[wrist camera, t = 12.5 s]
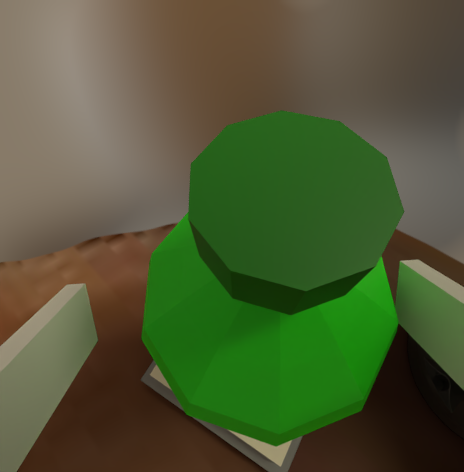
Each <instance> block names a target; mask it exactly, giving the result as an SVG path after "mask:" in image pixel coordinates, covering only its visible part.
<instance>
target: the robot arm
mask: <svg viewBox="0 0 464 472" xmlns="http://www.w3.org/2000/svg"><path fill="white" fill-rule="evenodd" d="M395 310H396V313H397V317H398V321H399V324H400V325H401V326H402V327H403V328H404V329H405V330H406V331H407V332H408V334H409V335H408V358H409V363H410V367H411V371H412V374H413V377H414V379H415V382H416V384H417V386H418V388H419V390H420V392H421V394H422V396H423V397H424V399H425V400H426V402H427V403H428V405H429V406H430V408H431V409H432V410H433V411H434V413H435V414H436V415H437V416H438V417H439V418H440V419H441V420H442V421H443V422H444V423H445V424H446V425H447V426H448V427H449V428H450V429H451V430H452V431H454V432H455V433H456V434H457V435H459V436H460V437H461V438H463V439H464V287H463V286H461V285H459V284H458V283H456V282H454V281H453V280H451V279H449V278H448V277H446V276H444V275H443V274H441V273H439V272H438V271H436V270H434V269H433V268H431V267H429V266H428V265H426V264H425V263H423V262H421V261H420V260H406V261H400V265H399V275H398V285H397V295H396V304H395ZM97 341H98V338H97V333H96V329H95V324H94V320H93V315H92V311H91V306H90V302H89V297H88V293H87V288H86V284H71V285H66V286H65V287H64V288H63V289H62V290H61V291H60V292H58V293H57V294H56V295H55V296H54V297H53V298H52V299H51V300H50V301H49V302H48V303H47V304H46V305H44V306H43V307H42V308H41V309H40V310H39V311H38V312H37V313H36V314H35V315H34V316H33V317H32V318H30V319H29V320H28V321H27V322H26V323H25V324H24V325H23V326H22V327H21V328H20V329H19V330H17V331H16V332H15V333H14V334H13V335H12V336H11V337H10V338H9V339H8V340H7V341H6V342H5V343H3V344H2V345H1V346H0V472H17V470H18V469H19V467H20V465H21V464H22V462H23V461H24V459H25V457H26V456H27V454H28V453H29V451H30V449H31V448H32V446H33V445H34V443H35V441H36V440H37V438H38V436H39V435H40V433H41V432H42V430H43V428H44V427H45V425H46V424H47V422H48V420H49V419H50V417H51V415H52V414H53V412H54V411H55V409H56V407H57V406H58V404H59V403H60V401H61V399H62V398H63V396H64V395H65V393H66V391H67V390H68V388H69V386H70V385H71V383H72V382H73V380H74V378H75V377H76V375H77V374H78V372H79V370H80V369H81V367H82V366H83V364H84V362H85V361H86V359H87V357H88V356H89V354H90V353H91V351H92V349H93V348H94V346H95V345H96V343H97Z"/></svg>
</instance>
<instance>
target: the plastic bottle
mask: <svg viewBox="0 0 464 472" xmlns="http://www.w3.org/2000/svg"><path fill="white" fill-rule="evenodd" d="M403 213H404V210H403V206H402V203H401V200H400V197H399V194H398V191H397V188H396V185H395V182H394V178H393V175H392V172H391V169H390V166H389V163H388V160H387V157H386V156H384V155H383V154H382V153H380V152H379V151H378V150H377V149H375V148H374V147H373V146H371V145H370V144H369V143H367V142H366V141H365V140H363V139H362V138H361V137H360V136H358V135H357V134H356V133H354V132H353V131H352V130H350V129H349V128H348V127H346V126H345V125H344V124H343V123H341V122H340V121H335V120H329V119H325V118H319V117H313V116H308V115H303V114H298V113H293V112H287V111H278V112H275V113H271V114H267V115H263V116H260V117H256V118H252V119H249V120H245V121H242V122H238V123H234V124H231V125H228V126H226V127H225V128H224V130H222V132H221V133H220V134H219V135H218V136H217V137H216V138H215V139H214V140H213V141H212V142H211V143H210V144H209V145H208V146H207V147H206V148H205V150H204V151H203V152H202V153H201V154H200V155H199V156H198V157H197V158H196V159H195V160H194V161H193V162H192V163H191V172H190V192H189V212H188V213H187V214H186V215H185V216H184V217H183V219H182V220H181V221H180V222H179V223H178V224H177V225H176V227H175V228H174V229H173V230H172V231H171V232H170V233H169V235H168V236H167V237H166V238H165V239H164V240H163V241H162V243H161V244H160V245H159V246H158V247H157V248H156V249H155V251H154V252H153V253H152V255H151V259H150V262H149V272H148V281H147V290H146V300H145V309H144V318H143V327H142V337H141V339H142V341H143V343H144V344H145V346H146V348H147V349H148V351H149V353H150V354H151V356H152V358H153V359H154V361H155V363H156V364H157V366H158V368H159V369H160V371H161V373H162V374H163V376H164V378H165V380H166V381H167V383H168V385H169V386H170V388H171V390H172V391H173V393H174V395H175V396H176V398H177V400H178V401H179V403H180V405H181V406H182V408H183V410H184V411H185V413H186V415H189V416H192V417H194V418H197V419H200V420H203V421H206V422H208V423H211V424H214V425H217V426H220V427H222V428H225V429H228V430H231V431H234V432H236V433H239V434H242V435H245V436H247V437H250V438H253V439H256V440H259V441H261V442H264V443H267V444H270V445H273V446H275V447H277V446H279V445H282V444H284V443H286V442H289V441H291V440H293V439H296V438H298V437H301V436H303V435H305V434H308V433H310V432H312V431H315V430H317V429H319V428H322V427H324V426H327V425H329V424H331V423H334V422H336V421H338V420H341V419H343V418H345V417H348V416H350V415H353V414H355V413H357V412H360V411H362V409H363V406H364V404H365V402H366V400H367V397H368V395H369V393H370V391H371V389H372V386H373V384H374V382H375V380H376V377H377V375H378V373H379V371H380V368H381V366H382V364H383V362H384V359H385V357H386V355H387V353H388V350H389V348H390V346H391V344H392V341H393V339H394V337H395V335H396V332H397V328H398V323H399V321H398V317H397V313H396V310H395V306H394V302H393V298H392V294H391V291H390V287H389V283H388V279H387V275H386V271H385V268H384V264H383V260H382V256H381V255H382V253H383V252H384V250H385V248H386V246H387V244H388V242H389V240H390V238H391V236H392V234H393V232H394V230H395V229H396V226H397V225H398V223H399V221H400V219H401V217H402V215H403Z"/></svg>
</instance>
